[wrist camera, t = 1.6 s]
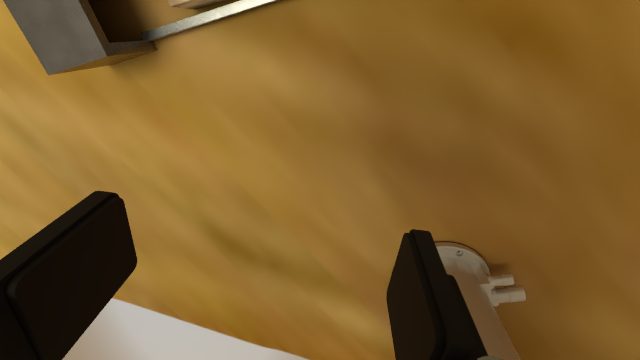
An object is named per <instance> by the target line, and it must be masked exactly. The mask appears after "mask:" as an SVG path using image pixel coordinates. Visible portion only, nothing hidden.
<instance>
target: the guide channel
mask: <svg viewBox="0 0 640 360" xmlns="http://www.w3.org/2000/svg"><path fill="white" fill-rule="evenodd" d="M278 1H281V0H241V1H238V2H235V3H232V4H228V5H225V6H222V7H219V8H216V9H213V10H210V11H207V12H204V13H201V14H198V15H195V16H192V17H189V18H186V19H183V20H180V21H177V22H174V23H171V24H168V25H165V26H162V27H159V28H156V29H153V30H150V31H146V32H143V33H141V35H142V37H143V39H144V41H145V42H152V41H156V40H159V39H162V38H166V37H169V36H172V35H175V34H178V33H181V32H184V31H187V30H190V29H194V28H197V27H200V26H203V25H206V24H209V23H212V22H215V21H219V20H222V19H225V18H228V17H231V16H234V15H237V14H240V13H243V12H247V11H250V10H253V9H256V8H259V7H262V6H265V5H268V4H271V3H275V2H278Z"/></svg>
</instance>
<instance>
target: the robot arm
mask: <svg viewBox="0 0 640 360" xmlns="http://www.w3.org/2000/svg"><path fill="white" fill-rule="evenodd" d="M136 264H137V257H136V252H135V248H134V244H133V239H132V235H131V230H130V226H129V222H128V217H127V213H126V209H125V204H124V201H123V199H122V198H120V197H119V195H118V194H116V193H112V192H104V191H95V192H93V193H92V194H90V195H89V196H88V197H86V198H85V199H83V200H82V201H81V202H79V203H78V204H77V205H75V206H74V207H72V208H71V209H70V210H68V211H67V212H66V213H64V214H63V215H61V216H60V217H59V218H57V219H56V220H55V221H53V222H52V223H50V224H49V225H48V226H46V227H45V228H43V229H42V230H41V231H39V232H38V233H37V234H35V235H34V236H32V237H31V238H30V239H28V240H27V241H26V242H24V243H23V244H21V245H20V246H19V247H17V248H16V249H15V250H13V251H12V252H10V253H9V254H8V255H6V256H5V257H4V258H2V259H1V260H0V360H62V359H63V358H64V357H65V355H66V354H67V353H68V351H69V350H70V349H71V348H72V347H73V345H74V344H75V343H76V342H77V340H78V339H79V338H80V336H81V335H82V334H83V333H84V331H85V330H86V329H87V328H88V327H89V325H90V324H91V323H92V322H93V320H94V319H95V318H96V317H97V315H98V314H99V313H100V312H101V310H102V309H103V308H104V307H105V306H106V304H107V303H108V302H109V301H110V299H111V298H112V297H113V296H114V294H115V293H116V292H117V291H118V289H119V288H120V287H121V286H122V284H123V283H124V282H125V281H126V279H127V278H128V277H129V276H130V274H131V273H132V272H133V271H134V269H135V267H136ZM507 285H513V286H507ZM494 286H505V287H504V288H496V289H494ZM520 301H526V294H525V292H524V289H523V287H522V286H521V285H514V279H513V276H512V274H511V273H508V274H500V275H496V276H491V275H490V272H489V269H488V267H487V265H486V263H485V261H484V260H483V259H482V257H481V256H480V255H479V254H478V253H476V252H475V251H474V250H472V249H470V248H468V247H467V246H463V245H460V244H457V243H450V242H437V243H434V240H433V238H432V235H431V233H430V232H429V231H422V230H414V229H412V230H411V231H410V232H409V233H405V234H404V235H403V238H402V242H401V245H400V249H399V252H398V255H397V259H396V262H395V266H394V269H393V272H392V276H391V279H390V283H389V286H388V290H387V306H388V312H389V318H390V325H391V331H392V338H393V344H394V350H395V357H396V360H521V359H520V357H519V355H518V353H517V351H516V349H515V347H514V345H513V343H512V341H511V339H510V337H509V335H508V333H507V332H506V330H505V328H504V326H503V324H502V322H501V320H500V318H499V316H498V314H497V312H496V310H495V308H494V307H498V306H499V303H504V302H509V303H511V302H520Z"/></svg>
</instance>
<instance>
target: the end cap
mask: <svg viewBox="0 0 640 360" xmlns="http://www.w3.org/2000/svg"><path fill="white" fill-rule="evenodd" d="M3 1H4V2H5V4H6V6H7V7H8V9H9V11H10V12H11V14H12V16H13V17H14V19H15V21H16V22H17V24H18V26H19V27H20V29H21V31H22V32H23V34H24V36H25V37H26V39H27V41H28V42H29V44H30V46H31V47H32V49H33V50H34V52H35V54H36V55H37V57H38V59H39V60H40V62H41V64H42V65H43V67H44V69H45V70H46V72H47V74H48V75H53V74H59V73H65V72H71V71H77V70H84V69H90V68H96V67H102V66H108V65H111V64H115V63H118V62H121V61H124V60H127V59H131V58H134V57H137V56H140V55H143V54H146V53H150V52H153V51H156V50H157V48H156V46H155V44H154V42H153V41H152V42H145V41H144V40H143V41H129V42H115V43H109V42H108V40H107V38H106V36H105V34H104V32H103V30H102V28H101V26H100V24H99V22H98V20H97V18H96V16H95V14H94V12H93V10H92V8H91V6H90V4H89V2H88V0H3Z"/></svg>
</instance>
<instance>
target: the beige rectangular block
mask: <svg viewBox="0 0 640 360" xmlns="http://www.w3.org/2000/svg"><path fill="white" fill-rule="evenodd" d="M220 1H224V0H168V2H169V5H170V7H178V8H188V9H198V8H201V7H204V6H208V5H211V4H214V3H217V2H220Z"/></svg>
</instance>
